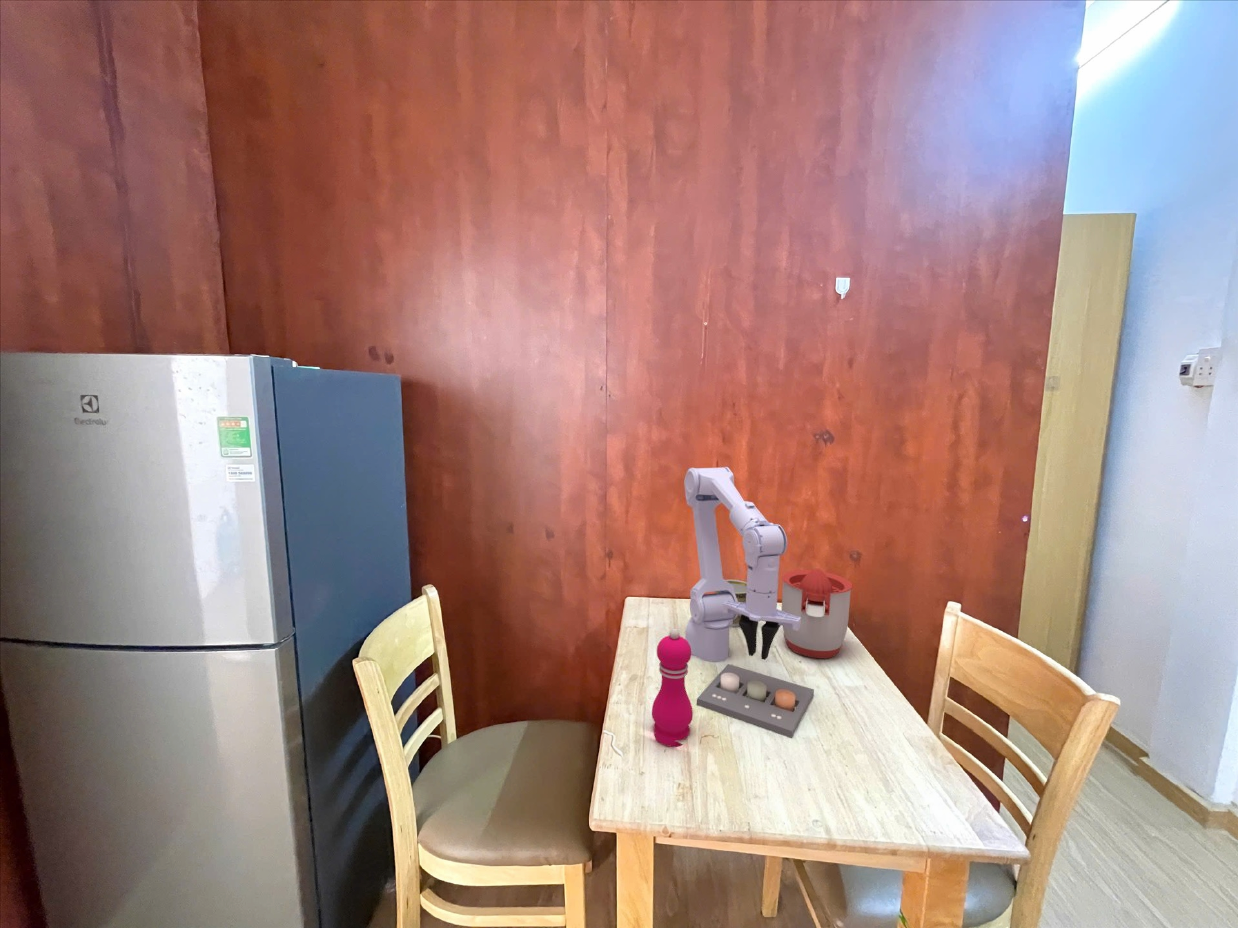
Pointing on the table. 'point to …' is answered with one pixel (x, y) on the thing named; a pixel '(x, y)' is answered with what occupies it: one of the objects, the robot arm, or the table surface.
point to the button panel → (753, 709)
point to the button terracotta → (785, 700)
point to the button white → (730, 682)
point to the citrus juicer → (816, 611)
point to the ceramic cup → (738, 596)
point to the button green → (756, 691)
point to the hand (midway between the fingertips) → (758, 655)
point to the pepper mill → (672, 691)
